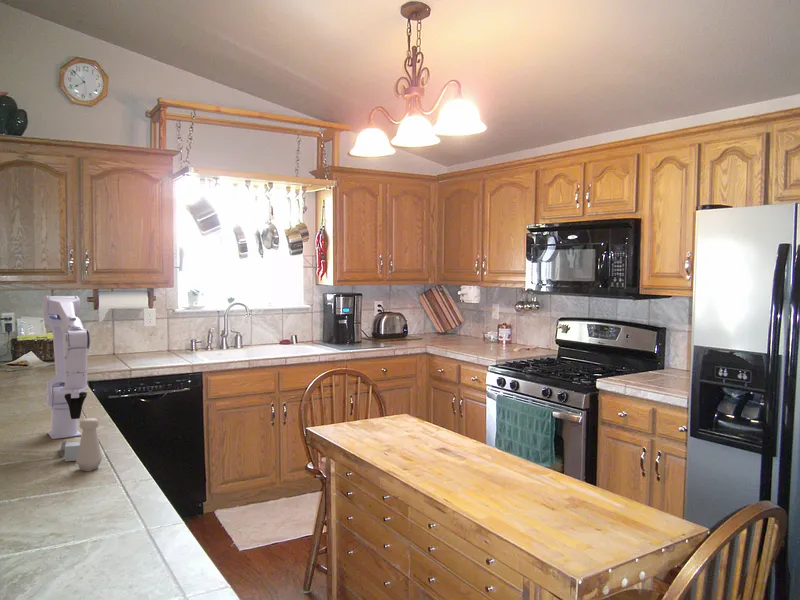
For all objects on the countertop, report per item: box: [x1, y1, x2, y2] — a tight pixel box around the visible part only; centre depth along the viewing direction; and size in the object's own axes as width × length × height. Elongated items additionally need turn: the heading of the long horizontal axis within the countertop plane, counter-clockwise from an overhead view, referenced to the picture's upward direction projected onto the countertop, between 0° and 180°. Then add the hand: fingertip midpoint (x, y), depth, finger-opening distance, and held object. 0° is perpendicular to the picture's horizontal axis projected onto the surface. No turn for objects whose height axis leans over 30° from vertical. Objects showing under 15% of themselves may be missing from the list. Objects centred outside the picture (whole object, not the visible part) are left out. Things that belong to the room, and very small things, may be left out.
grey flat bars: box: [59, 440, 67, 458], centre depth 169 cm, size 9×7×2 cm
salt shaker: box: [76, 417, 103, 472], centre depth 154 cm, size 6×6×13 cm
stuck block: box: [64, 441, 80, 462], centre depth 162 cm, size 4×4×4 cm
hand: (75, 418), depth 173 cm, fingers closed
